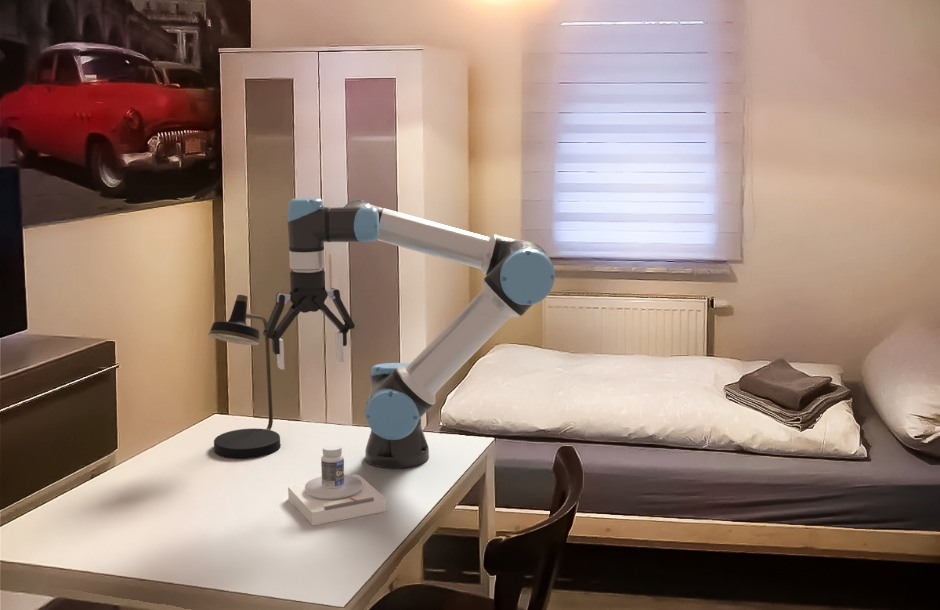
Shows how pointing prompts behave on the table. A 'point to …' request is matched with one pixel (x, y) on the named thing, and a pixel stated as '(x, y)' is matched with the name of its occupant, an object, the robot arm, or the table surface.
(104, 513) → the table surface
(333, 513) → the scale
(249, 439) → the lamp
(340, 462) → the pill bottle
